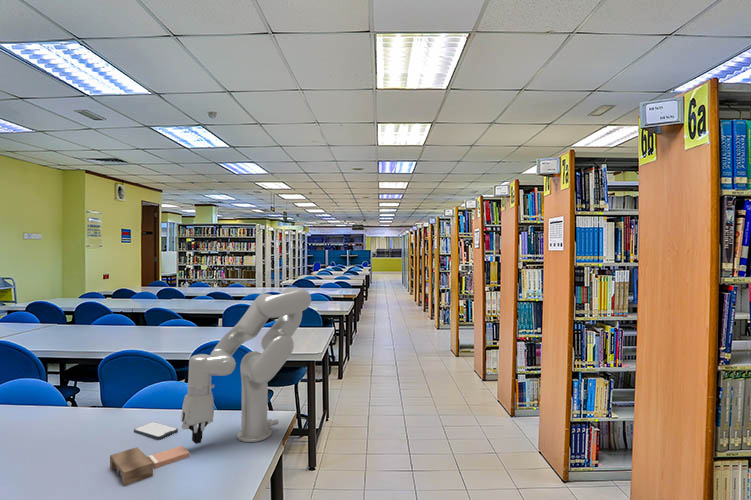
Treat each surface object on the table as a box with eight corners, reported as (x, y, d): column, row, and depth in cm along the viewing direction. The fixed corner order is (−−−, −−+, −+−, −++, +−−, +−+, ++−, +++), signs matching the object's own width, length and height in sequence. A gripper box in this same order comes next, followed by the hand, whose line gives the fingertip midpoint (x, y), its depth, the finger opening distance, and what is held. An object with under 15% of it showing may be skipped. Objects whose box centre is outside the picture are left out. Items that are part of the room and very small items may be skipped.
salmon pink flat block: (181, 451, 147) (181, 445, 147) (189, 458, 142) (189, 452, 142) (147, 462, 140) (147, 455, 140) (154, 470, 135) (154, 463, 135)
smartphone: (132, 433, 162) (158, 441, 154) (132, 429, 162) (158, 437, 154) (153, 425, 169) (179, 432, 162) (153, 421, 169) (179, 428, 162)
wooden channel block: (137, 458, 141) (137, 447, 141) (152, 475, 130) (153, 462, 130) (109, 467, 135) (110, 455, 135) (124, 485, 124) (124, 472, 124)
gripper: (214, 383, 156) (212, 433, 156) (173, 391, 146) (170, 445, 145) (224, 388, 151) (222, 439, 151) (182, 397, 140) (179, 452, 140)
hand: (197, 442), depth 148 cm, fingers closed
